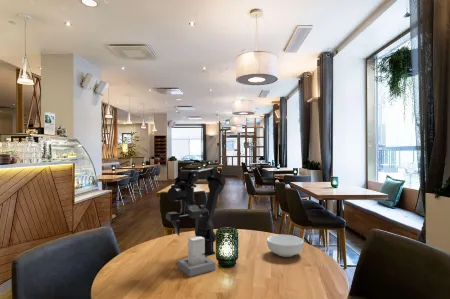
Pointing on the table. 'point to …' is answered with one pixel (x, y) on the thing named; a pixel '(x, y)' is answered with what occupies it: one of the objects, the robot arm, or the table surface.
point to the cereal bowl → (285, 245)
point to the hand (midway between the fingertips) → (188, 233)
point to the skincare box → (196, 250)
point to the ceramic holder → (196, 267)
